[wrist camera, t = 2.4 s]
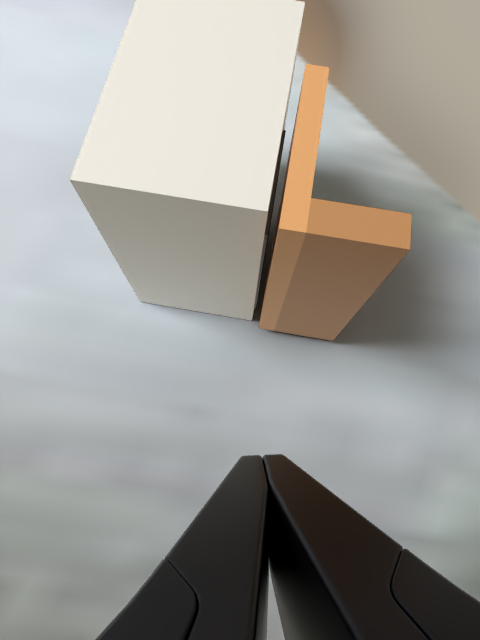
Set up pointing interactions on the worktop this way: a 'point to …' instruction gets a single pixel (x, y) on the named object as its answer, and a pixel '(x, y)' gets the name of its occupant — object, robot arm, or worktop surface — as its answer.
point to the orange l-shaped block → (324, 239)
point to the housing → (192, 148)
